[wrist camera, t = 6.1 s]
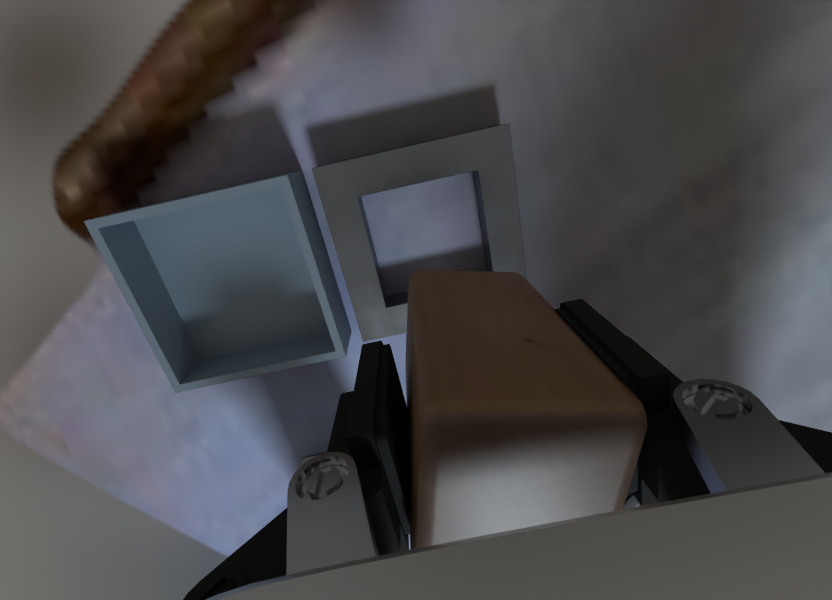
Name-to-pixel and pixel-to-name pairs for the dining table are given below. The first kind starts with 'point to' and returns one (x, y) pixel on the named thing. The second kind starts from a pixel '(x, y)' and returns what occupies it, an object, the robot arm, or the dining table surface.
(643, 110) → the dining table surface
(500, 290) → the wooden block
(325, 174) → the grey square frame
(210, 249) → the tray
